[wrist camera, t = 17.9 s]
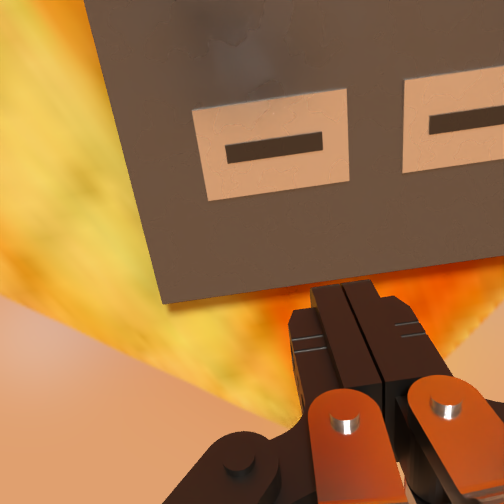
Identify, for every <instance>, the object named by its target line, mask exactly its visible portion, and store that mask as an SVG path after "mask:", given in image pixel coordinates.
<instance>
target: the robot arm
mask: <svg viewBox="0 0 504 504" xmlns="http://www.w3.org/2000/svg"><path fill="white" fill-rule="evenodd" d="M310 300H311V308H306V309H299V310H294V311H293V313H292V316H291V318H290V321H289V323H288V328H289V337H290V346H291V354H292V363H293V371H294V376H295V381H296V386H297V391H298V395H299V399H300V405H301V410H302V417H301V419H300V420H299V421H298V423H297V424H296V425H295V426H294V427H293V428H291V429H290V430H289V431H287V432H285V433H284V434H282V435H280V436H278V437H276V438H273V439H271V440H268V439H267V438H266V437H264V436H262V435H260V434H257V433H254V432H247V431H243V432H242V431H241V432H235V433H231V434H228V435H225V436H223V437H222V438H220V439H218V440H217V441H216V442H214V443H213V444H212V445H211V446H210V447H209V448H208V450H207V451H206V452H205V453H204V454H203V456H202V457H201V458H200V459H199V460H198V462H197V463H196V464H195V465H194V466H193V468H192V469H191V470H190V471H189V472H188V473H187V475H186V476H185V477H184V478H183V479H182V481H181V482H180V483H179V484H178V485H177V487H176V488H175V489H174V490H173V491H172V493H171V494H170V495H169V496H168V497H167V499H166V500H165V501H164V502H163V503H162V504H504V403H501V402H495V401H491V400H487V399H484V397H483V396H482V395H481V394H480V393H479V392H478V390H477V389H475V388H474V387H473V386H472V385H470V384H469V383H467V382H465V381H463V380H461V379H458V378H455V377H454V376H453V375H452V373H451V372H450V370H449V368H448V367H447V365H446V364H445V362H444V360H443V359H442V357H441V356H440V354H439V352H438V351H437V349H436V348H435V346H434V344H433V343H432V341H431V340H430V338H429V337H428V335H426V333H425V330H424V329H423V327H422V325H421V324H420V323H419V322H418V319H417V317H416V316H415V314H414V313H413V311H412V309H411V308H410V306H408V305H407V304H405V303H404V302H402V301H401V300H399V299H398V298H397V297H395V296H389V297H382V298H380V296H379V294H378V293H377V291H376V289H375V287H374V285H373V283H372V282H371V280H369V279H368V280H361V281H354V282H347V283H341V284H340V285H339V284H334V285H327V286H320V287H313V288H310ZM396 462H400V465H401V468H402V470H403V473H404V475H405V479H404V487H403V484H402V480H401V477H400V474H399V471H398V467H397V464H396Z"/></svg>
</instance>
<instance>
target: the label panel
mask: <svg viewBox="0 0 504 504" xmlns="http://www.w3.org/2000/svg"><path fill="white" fill-rule="evenodd" d="M84 3H85V7H86V11H87V15H88V19H89V23H90V27H91V30H92V34H93V38H94V42H95V46H96V50H97V53H98V57H99V61H100V65H101V69H102V73H103V77H104V80H105V84H106V88H107V92H108V96H109V100H110V103H111V107H112V111H113V115H114V119H115V123H116V127H117V130H118V134H119V138H120V142H121V146H122V150H123V154H124V157H125V161H126V165H127V169H128V173H129V177H130V180H131V184H132V188H133V192H134V196H135V200H136V204H137V207H138V211H139V215H140V219H141V223H142V227H143V230H144V234H145V238H146V242H147V246H148V250H149V254H150V257H151V261H152V265H153V269H154V273H155V277H156V281H157V284H158V288H159V292H160V296H161V300H162V304H169V303H176V302H183V301H190V300H197V299H204V298H211V297H218V296H225V295H232V294H239V293H246V292H252V291H259V290H266V289H273V288H280V287H287V286H294V285H301V284H308V283H315V282H322V281H329V280H336V279H343V278H350V277H357V276H364V275H371V274H378V273H385V272H392V271H399V270H406V269H413V268H420V267H427V266H434V265H441V264H448V263H455V262H462V261H468V260H475V259H482V258H489V257H496V256H503V255H504V0H84Z"/></svg>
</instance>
